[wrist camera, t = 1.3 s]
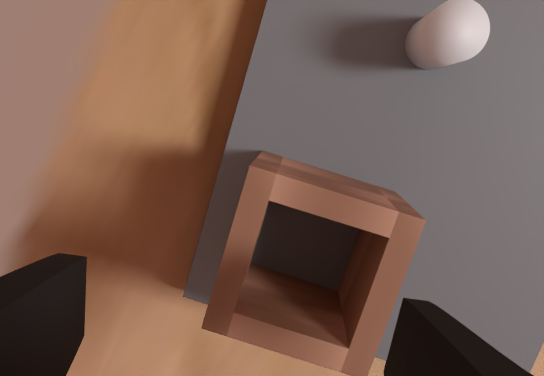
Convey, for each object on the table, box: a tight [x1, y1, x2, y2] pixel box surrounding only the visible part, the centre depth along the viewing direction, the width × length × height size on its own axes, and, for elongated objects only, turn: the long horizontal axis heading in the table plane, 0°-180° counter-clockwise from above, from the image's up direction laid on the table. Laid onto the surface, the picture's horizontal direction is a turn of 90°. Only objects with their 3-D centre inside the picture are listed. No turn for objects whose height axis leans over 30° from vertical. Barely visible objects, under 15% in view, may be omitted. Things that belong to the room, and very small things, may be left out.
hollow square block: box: [202, 151, 426, 376], centre depth 16 cm, size 5×5×4 cm
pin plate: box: [183, 0, 544, 373], centre depth 16 cm, size 14×17×4 cm
